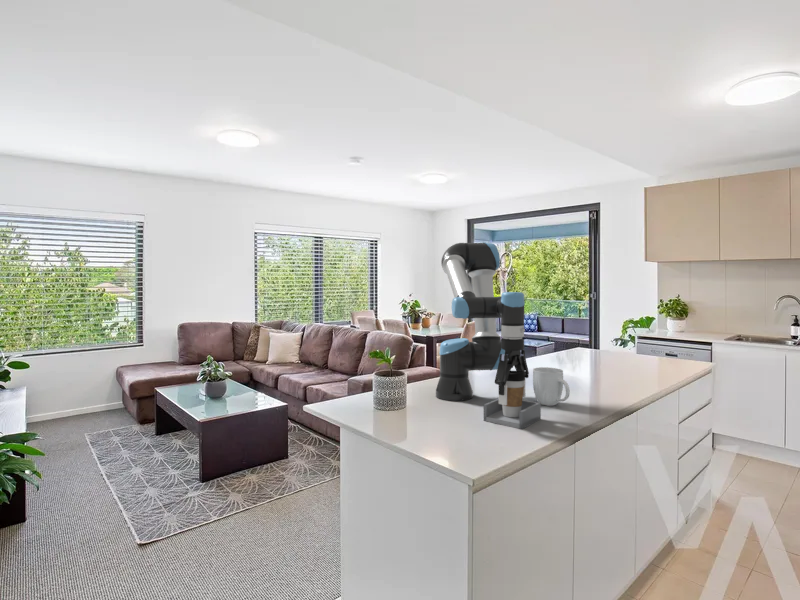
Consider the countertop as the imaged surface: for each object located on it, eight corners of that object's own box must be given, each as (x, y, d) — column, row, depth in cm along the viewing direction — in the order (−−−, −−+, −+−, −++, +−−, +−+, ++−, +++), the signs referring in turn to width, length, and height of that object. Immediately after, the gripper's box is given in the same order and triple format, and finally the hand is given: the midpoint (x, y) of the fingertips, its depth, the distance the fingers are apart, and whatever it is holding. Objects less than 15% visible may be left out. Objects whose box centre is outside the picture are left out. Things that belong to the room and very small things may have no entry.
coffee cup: (520, 420, 150) (520, 374, 149) (495, 416, 154) (495, 371, 154) (527, 414, 157) (528, 370, 157) (504, 410, 161) (504, 368, 161)
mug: (577, 406, 171) (578, 372, 170) (559, 411, 165) (559, 375, 164) (545, 398, 183) (545, 366, 183) (526, 402, 177) (526, 369, 177)
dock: (483, 420, 155) (483, 404, 155) (503, 411, 166) (503, 396, 165) (522, 429, 146) (522, 412, 146) (540, 418, 156) (540, 403, 156)
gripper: (505, 342, 143) (504, 410, 144) (538, 335, 161) (538, 394, 162) (483, 340, 147) (483, 406, 148) (519, 333, 166) (518, 391, 167)
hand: (512, 400), depth 155 cm, fingers open, 13 cm apart
